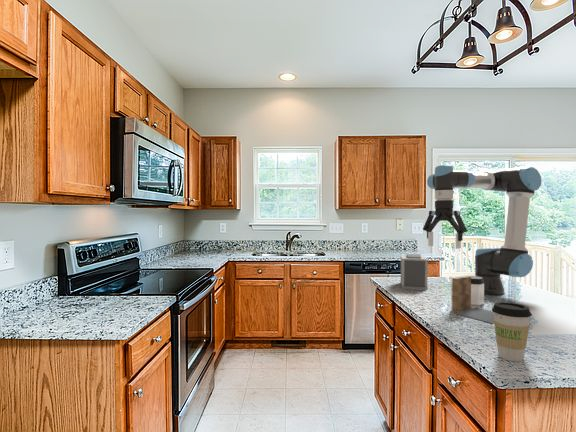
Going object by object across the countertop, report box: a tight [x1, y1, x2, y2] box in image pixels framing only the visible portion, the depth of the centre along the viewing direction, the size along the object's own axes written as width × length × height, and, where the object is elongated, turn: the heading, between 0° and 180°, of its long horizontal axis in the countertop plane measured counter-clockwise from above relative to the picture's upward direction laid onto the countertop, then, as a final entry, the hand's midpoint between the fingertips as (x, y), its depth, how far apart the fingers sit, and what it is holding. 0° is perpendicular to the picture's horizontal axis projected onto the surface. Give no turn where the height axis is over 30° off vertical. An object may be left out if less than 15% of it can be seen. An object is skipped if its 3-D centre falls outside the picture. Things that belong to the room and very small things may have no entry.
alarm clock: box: [400, 253, 429, 291], centre depth 201 cm, size 18×13×18 cm
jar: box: [469, 275, 485, 306], centre depth 164 cm, size 9×8×12 cm
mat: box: [453, 307, 494, 325], centre depth 144 cm, size 16×16×1 cm
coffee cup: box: [491, 301, 533, 363], centre depth 103 cm, size 10×10×15 cm
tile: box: [450, 275, 472, 312], centre depth 153 cm, size 10×2×14 cm, turn 121°
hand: (444, 247), depth 159 cm, fingers open, 13 cm apart
